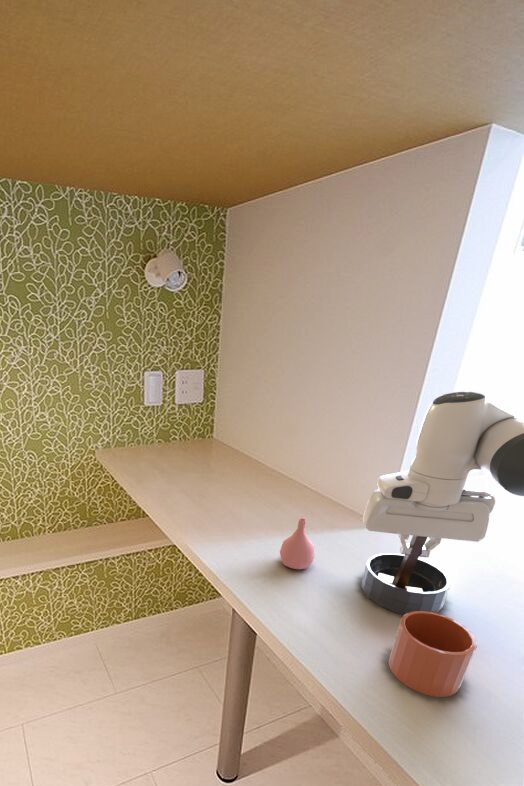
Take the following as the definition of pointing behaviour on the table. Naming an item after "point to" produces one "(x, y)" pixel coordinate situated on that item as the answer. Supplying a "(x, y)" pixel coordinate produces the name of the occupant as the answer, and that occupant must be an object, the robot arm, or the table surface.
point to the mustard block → (414, 589)
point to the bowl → (402, 599)
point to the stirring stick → (409, 562)
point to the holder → (431, 653)
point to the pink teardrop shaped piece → (297, 549)
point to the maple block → (386, 578)
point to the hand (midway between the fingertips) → (413, 554)
